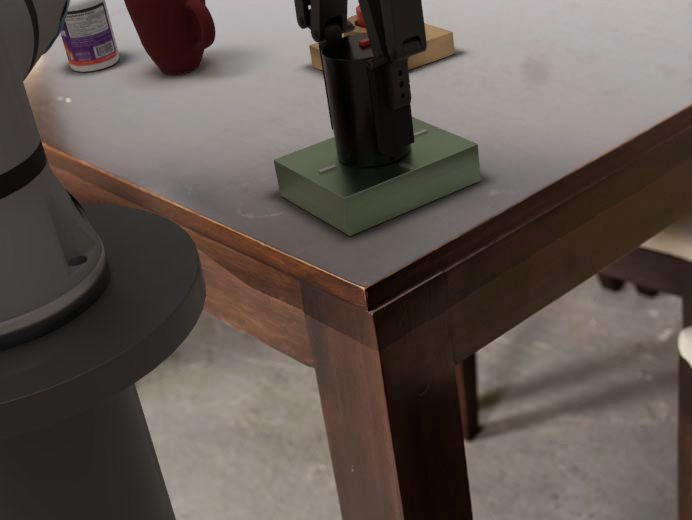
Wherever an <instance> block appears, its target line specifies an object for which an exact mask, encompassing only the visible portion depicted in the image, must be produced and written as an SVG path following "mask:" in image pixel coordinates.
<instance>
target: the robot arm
mask: <svg viewBox="0 0 692 520" xmlns="http://www.w3.org/2000/svg"><path fill="white" fill-rule="evenodd" d="M293 2H294V7H295V8H294V9H295V17H296V23H297V25H298V26H299V28H300V29H302V30H305V29H309V31H310V35H311V38H312V39H313V41H314V42H315V43H318V45H319V51H320V58H321V64H322V76H323V81H324V82H323V83H324V89H325V95H326V101H327V109H328V114H329V115H328V116H329V121H330V128H331V130H332V131H333V124H332V118H331V111H330V105H329V98H328V92H327V85H326V79H325V72H324V66H323V59H322V49H323V48H324V47H325V46H326V45H327V44H329V43H331V42H333V41H335V40H337V39H340V38H344V37H342V34H344V33H347V32H350V31H353V30H354V29H355V25H354V26H353V24H352V23H351V22H350V21H347V19H348V5H349V4H348V3H349V1H348V0H293ZM357 2H358V6H360V9H361V13H362V16H363V20H364V24H365V27H366V31H367V34H368V38H369V42H370V45H371V49H372V53H373V56H374V58H372V59H369V60H366V61H365V62H366V65H367V67H368V74H369V82H370V90H371V97H372V105H373V113H374V120H375V128H376V136H377V143H378V151H379V152H381V153H383V154H386V153H389V152H391V151H394V150H396V149H399V148H401V147H404V146H407V145H409V144H412V143H414V142H415V141H414V132H413V123H412V117H413V115H412V106H411V105H412V104H411V103H412V91H411V84H410V83H411V80H410V72H409V71H410V70H408V59H409V57H410V56H413V55H416V54H419V53H421V52H424V51H425V50H426V48H427V41H426V33H425V25H424V23H425V17H424V10H423V3H422V2H423V1H422V0H357ZM69 4H70V0H0V351H1V350H4V349H8V348H11V347H14V346H18V345H20V344H23V343H26V342H29V341H31V340H34V339H36V338H39V337H41V336H43V335H45V334H47V333H50V332H52V331H54V330H55V329H57V328H59V327H61V326H63V325H65V324H66V323H68V322H69V321H71V320H73V319H74V318H76V317H77V316H78V315H80V314H81V313H82V312H84V311H85V310H86V309H87V308H88V307H90V306H91V305H92V304H93V303H94V302H95V301H96V300H97V299H98V297H99V296H100V295H101V294H102V292H103V291H104V289H105V288H106V286H107V283H108V281H109V277H110V266H109V263H108V260H107V256H106V253H105V250H104V246H103V243H102V240H101V238H100V237H99V235H98V234H97V233H96V232H95V230H94V229H93V227H92V226H91V225H90V223H89V222H88V220H87V219H86V218H85V216H84V215H83V213H82V212H81V211H80V209H79V208H78V206H79V207H80V208H81V209H82V210H83V211H84V212H85V210H84V209H83V207H82V206H81V205H80V204H81V203H80V202H79V200H78V198H76V197H75V196H74V195H73V194H71V193H70V191H68V190H67V189H66V188H65V187H64V186H63V184H62V182H61V181H60V180H59V178H58V177H57V175H56V174H55V173H54V172H53V170H52V168H51V166H50V163H49V161H48V157H47V155H46V152H45V148H44V145H43V143H42V139H41V135H40V132H39V129H38V125H37V122H36V119H35V116H34V113H33V110H32V107H31V103H30V100H29V95H28V93H27V90H26V87H25V83H24V81H25V80H26V79H27V78H28V76H29V75H30V73H31V72H32V70H33V69H34V67H35V66H36V65H37V63H38V61H39V60H40V59H41V58H42V56H43V55H45V54H47V53H48V51H49V50H50V49H51V48H52V47H53V45H54V44H55V42H56V41H57V39H58V38H59V36H61V33H60V32H61V30H62V28H63V25H64V22H65V19H66V16H67V11H68V8H69ZM309 6H310V8H309ZM348 36H351V35H348ZM345 37H347V36H345ZM85 213H86V212H85ZM86 214H87V213H86ZM87 215H88V214H87Z"/></svg>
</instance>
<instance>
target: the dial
mask: <svg viewBox="0 0 692 520" xmlns="http://www.w3.org/2000/svg"><path fill="white" fill-rule="evenodd" d="M372 58H374V56H373V53H372V49H371V45H370V42H369V38H368V34H358V35H352V36H347V37H344V38H340V39H337V40H335V41H333V42H331V43H329V44H327V45H326V46H325V47H324V48H323V49H322V59H323V66H324V72H325V79H326V85H327V92H328V98H329V105H330V111H331V118H332V124H333V130H332V132H333V137H334V138H335V144H336V151H337V157H338V159H339V160H340V161H341V162H343V163H345V164H347V165H351V166H358V167H370V166H379V165H384V164H388V163H391V162H394V161H397V160H399V159H401V158H403V157H404V156H406V155H407V154H408V153H409V152H410V150H411V144H409V145H407V146H404V147H401V148H399V149H396V150H394V151H391V152H389V153H386V154H383V153H381V152H379V151H378V143H377V136H376V128H375V120H374V113H373V105H372V97H371V90H370V82H369V74H368V67H367V65H366V62H365V61H366V60H369V59H372Z"/></svg>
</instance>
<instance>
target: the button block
mask: <svg viewBox="0 0 692 520" xmlns="http://www.w3.org/2000/svg"><path fill="white" fill-rule="evenodd" d="M347 21H350V22H351V23H352V24H353V26H354V25H355V29H354V30H353V31H350V32H347V33H344V34H342V37H345V36H348V35H351V36H352V35H358V34H367V31H366V28H362V27H359V26H358V22H357V15H356V14H354V15H351V16H350V17H347ZM424 25H425V33H426V41H427V48H426V50H425V51H424V52H421V53H419V54H416V55H413V56H410V57H409V59H408V71H411V70H414V69H416V68H419V67H423V66H425V65H428V64H430V63H433V62H436V61H438V60H441V59H444V58H447V57H450V56H454V55H455V53H456V52H455V43H454V42H455V41H454V31H452V30H449V29H445V28H442V27H439V26H435V25H432V24H428V23H425V22H424ZM308 47H309V54H310V60H311V66H312V68H314V69H317V70H319V71H322V64H321V58H320V51H319V45H318V42H315V43H312V44H309V46H308ZM322 72H323V71H322Z"/></svg>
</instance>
